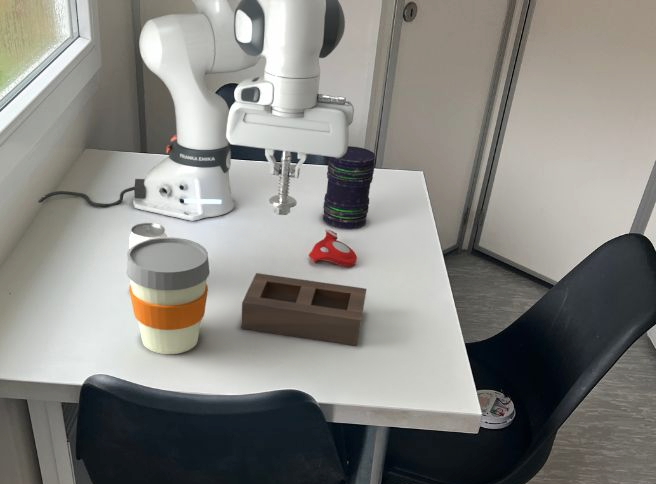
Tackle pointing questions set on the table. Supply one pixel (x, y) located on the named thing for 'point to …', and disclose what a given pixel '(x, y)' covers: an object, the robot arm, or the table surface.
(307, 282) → the holder
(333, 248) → the tracker holder
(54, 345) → the table surface
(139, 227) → the can
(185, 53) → the robot arm
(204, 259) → the reusable coffee cup
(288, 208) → the screw
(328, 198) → the dark blue cylinder
